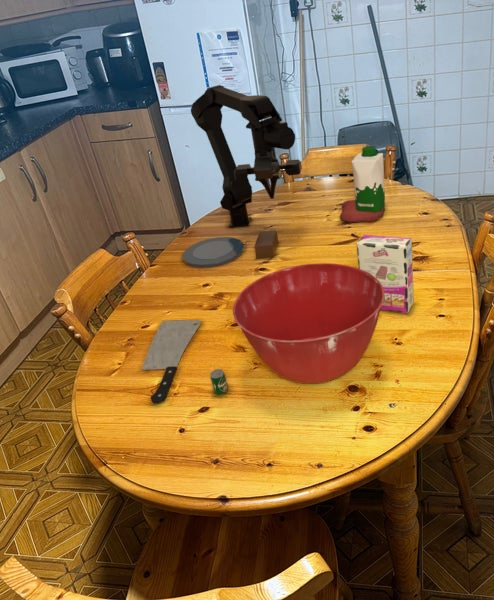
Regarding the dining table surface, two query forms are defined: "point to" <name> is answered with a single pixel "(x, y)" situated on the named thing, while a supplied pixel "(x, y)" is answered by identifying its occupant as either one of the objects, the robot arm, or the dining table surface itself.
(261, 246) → the block
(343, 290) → the mixing bowl
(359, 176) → the milk carton
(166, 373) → the cleaver
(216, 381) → the beer can
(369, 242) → the candy bar box
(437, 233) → the dining table surface
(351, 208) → the food model
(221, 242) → the plate
